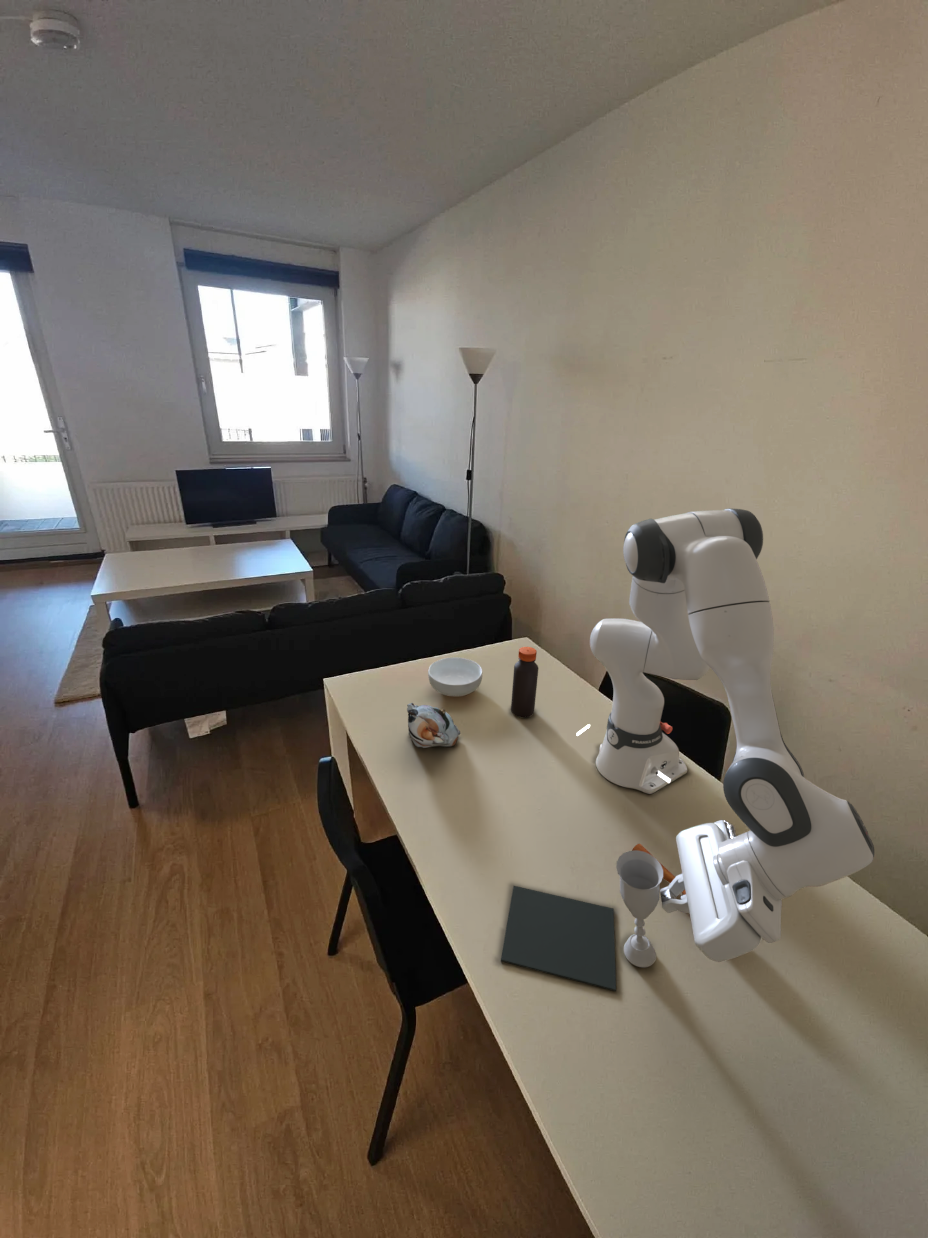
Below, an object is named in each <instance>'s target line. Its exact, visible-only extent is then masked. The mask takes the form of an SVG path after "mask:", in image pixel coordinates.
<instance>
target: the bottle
mask: <svg viewBox="0 0 928 1238" xmlns="http://www.w3.org/2000/svg"><path fill="white" fill-rule="evenodd" d="M537 652H538V651H537V649H535V648H534V647H532V646H521V647H519V648H518V657H517V658H518V660H517V661H516V662H515V663H514V665H513V674H512V675H513V676H512V679H513V680H512V689H511V690H512V691H511V701H510V704H511V705H510V713H512V714H513V716H515V717H518V718H521V719H522V718H523V719H525V718H526V719H527V718H529V717H532V716H533V715H534V713H535V707H536V698H537V687H538V678H539V665H538V664H537V663H536V660H537Z"/></svg>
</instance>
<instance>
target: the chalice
mask: <svg viewBox="0 0 928 1238" xmlns="http://www.w3.org/2000/svg"><path fill="white" fill-rule="evenodd" d="M652 855H653V854H652ZM652 855H650V854H648V853H646V852H643V851H638V850H634V851H632V850H628V851H625V852H622V854H621V855H619V857H618V858H617V860H616V863H615V868H616V869H615V870H616V872H617V875H618V876H619V893H620V897H621V898H622V901H623V903H624V905H625V907H626V908H627V910H628V911H629V913H630V914H631V916H632V917H634V921H633V922H634V924H635V927H634V928H633V932H634V933H633V934H631V935H630V936H629V937H628V939H627V940H626V941H625V943H624V946H623V953H624V954H623V955H624V957H625V958H626V959H627V961H628V962H630V964H632V965H633V966H635V967H639V968H649V967H651V966H652V965H653V964H654V963H655V961H656V959H657V953H656V949H655V947H654V946H653V944H652V942H651V941H650V939H649V938H648V937H647V936H646V930H645V928H644V926H645V925H646V923H645V920H646V919H647V918H648V917H649V916H650V915H651V914H653V912H654V911H655V909H656V908H657V906H658V903H659V901H660V885H661V883H662V881H663V869H662V866H661V864H662V863H661V862H660V861H659V860H658V859H657V858H656V857H655V856H654V855H653V856H654V857H655V858H654V857H653V856H652ZM658 861H659V862H660V863H661V864H660V863H659V862H658Z"/></svg>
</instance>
